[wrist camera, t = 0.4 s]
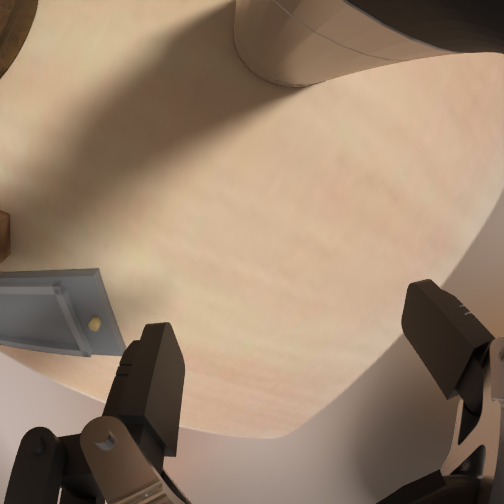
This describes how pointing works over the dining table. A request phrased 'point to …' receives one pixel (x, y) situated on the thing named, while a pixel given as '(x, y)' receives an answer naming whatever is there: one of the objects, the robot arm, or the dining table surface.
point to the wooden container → (14, 28)
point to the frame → (4, 235)
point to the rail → (58, 313)
